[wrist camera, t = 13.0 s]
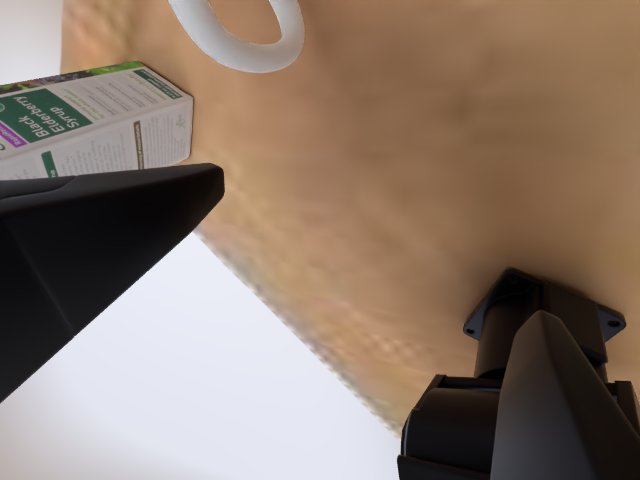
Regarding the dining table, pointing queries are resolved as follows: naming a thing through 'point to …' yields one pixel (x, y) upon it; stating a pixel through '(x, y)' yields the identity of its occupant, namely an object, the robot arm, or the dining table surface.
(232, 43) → the cup
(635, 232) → the dining table surface
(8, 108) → the syrup box
